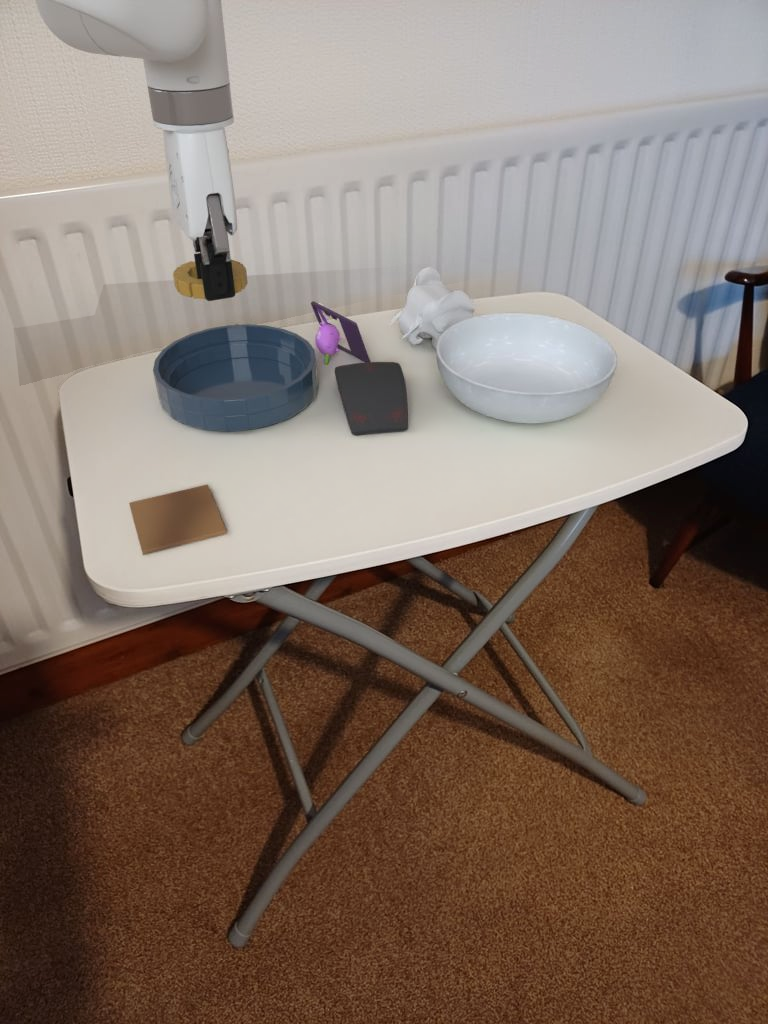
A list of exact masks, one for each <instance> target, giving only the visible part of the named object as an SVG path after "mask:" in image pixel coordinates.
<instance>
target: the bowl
mask: <svg viewBox="0 0 768 1024" xmlns="http://www.w3.org/2000/svg"><path fill="white" fill-rule="evenodd" d="M315 350H316V349H315V348H314V346H312V344H311V343H310V342H309V340H307V339H305V338H304V337H302V336H301V335H299V334H297V333H295V332H293V331H290V330H287V329H285V328H281V327H275V326H272V325H271V326H270V325H264V324H248V323H247V324H245V323H244V324H230V325H222V326H215V327H210V328H206V329H202V330H199V331H195V332H192V333H189V334H187V335H185V336H183V337H181V338H178V339H177V340H174V341H173V342H171V343H170V344H168V345H167V346H166V347H164V348H163V349H162V350H161V351H160V352H159V353H158V355H157V356H156V358H155V359H154V363H153V368H152V372H153V377H154V383H155V387H156V391H157V397H158V400H159V403H160V405H161V408H162V410H163V411H164V412H165V413H166V414H167V415H168V416H169V417H170V418H172V419H173V420H175V421H177V422H179V423H181V424H183V425H186V426H188V427H192V428H197V429H200V430H201V429H202V430H206V431H216V432H217V431H219V432H235V431H236V432H237V431H249V430H254V429H255V430H256V429H259V428H264V427H269V426H273V425H275V424H277V423H281V422H283V421H285V420H288V419H290V418H292V417H294V416H295V415H297V414H298V413H300V412H301V411H303V410H304V409H306V408H307V407H308V405H309V404H310V403H311V402H312V401H313V400H314V398H315V396H316V393H317V391H318V388H319V387H318V370H317V358H316V351H315Z"/></svg>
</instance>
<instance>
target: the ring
mask: <svg viewBox="0 0 768 1024" xmlns="http://www.w3.org/2000/svg"><path fill="white" fill-rule="evenodd" d="M231 262H232V271H233V279H234V287H235V295H236V294H238V293H240V292H242V290H245V288H246V287H247V286H248V283H249V282H248V273H247V272H248V271H247V268H246V266H245V265H244V264H243V263H241V261H237V260H236V259H235V260H234V259H231ZM172 278H173V284H174V288H175V289H176V292H177V293H178V294H180V295H182V296H185V297H186V298H193V299H197V300H206V298H205V295H204V288H203V281H202V279H198V278H197V271H196V265H195V261H192V260H191V261H188V262H185V263H183V264H180V266H177V267H176V268H175V269H174V271H172Z"/></svg>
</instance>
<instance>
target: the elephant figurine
mask: <svg viewBox="0 0 768 1024" xmlns="http://www.w3.org/2000/svg"><path fill="white" fill-rule="evenodd" d="M475 302H476V300H475V299H473V300H471V299H470V297H469V296H468V294H466V293H465V292H464V291H462V290H459V289H457V290H454V291H453V290H452V289H451V288H449V287H447V286H445V284H444V283H443V281H442V277H441V274H440V273H439V271H438V270H436V269H435V268H434V267H431V266H428V267H425V268H423V269H421V270H420V271H418V273H417V274H416V276H415V278H414V281H413V285H412V287H411V288H410V289H409V291H408V292H407V295H406V302H405V305H404V307H403V309H402V310H399V311H397V313H396V315H394V317H393V318H392V319H391V320H390V322H389V323H388V325H387V327H390V326H391V325H392V324H393V323H394V322H395V321H396V320H397V319H398V329H399V330H400V333H401V334H402V336H401V337H400V340H402V339H405V338H406V339H407V341H408V342H409V343H410V344H411V345H414V346H415V345H419V344H421V343H422V342H423V340H424V339H431V346H432V348H434V349H436V345H437V341H438V339H439V337H440V336H441V335H442V333H443V332H444V331H445V330H447V329H448V328H449V327H451V326H452V325H454V324H456V323H458V322H460V321H463V320H466V319H469V318H472V317H473V315H474V312H475V307H474V305H473V303H475ZM419 334H420V335H421V336H420V335H419ZM423 338H424V339H423Z"/></svg>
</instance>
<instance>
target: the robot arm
mask: <svg viewBox="0 0 768 1024" xmlns="http://www.w3.org/2000/svg"><path fill="white" fill-rule="evenodd" d="M35 3H36V7H37V10H38V13H39V15H40V17H41V19H42V20H43V22H44V24H45V25H46V27H47V29H48V30H50V32H51V33H52V34H53V35H54V36H55V37H56V38H58V40H60V41H61V42H62V43H64V44H65V45H68V46H69V47H71V48H74V49H76V50H79V51H81V52H84V53H88V54H89V53H90V54H95V55H103V56H112V57H120V58H121V57H125V58H131V59H133V58H134V59H141V60H142V61H143V67H144V73H145V78H146V85H147V91H148V92H147V93H148V98H149V104H150V110H151V116H152V123H153V126H154V127H155V128H157V129H159V130H162V135H163V146H164V155H165V163H166V171H167V178H168V179H167V180H168V188H169V195H170V196H169V197H170V204H171V210H172V215H173V217H174V219H175V221H176V222H177V224H178V225H179V227H180V228H181V230H182V231H183V233H184V234H185V236H186V237H187V238H188V239H190V240H191V241H192V244H193V250H194V253H193V258H194V262H195V265H196V271H197V278H198V279H202V281H203V288H204V295H205V298H206V299H205V300H206V301H208V302H213V301H219V300H226V299H231V298H235V296H236V294H235V287H234V279H233V271H232V262H231V260H232V259H231V258H232V257H231V250H230V243H229V242H230V241H229V235H230V236H234V235H235V234H236V232H237V230H238V219H237V206H236V198H235V190H234V182H233V181H234V180H233V173H232V168H231V161H230V150H229V148H228V142H227V135H226V129H225V128H227V127H229V126H231V125H233V124H234V123H235V117H234V109H233V101H232V89H231V82H230V72H229V63H228V53H227V52H228V51H227V43H226V35H225V24H224V14H223V5H222V0H35ZM228 234H229V235H228Z"/></svg>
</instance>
